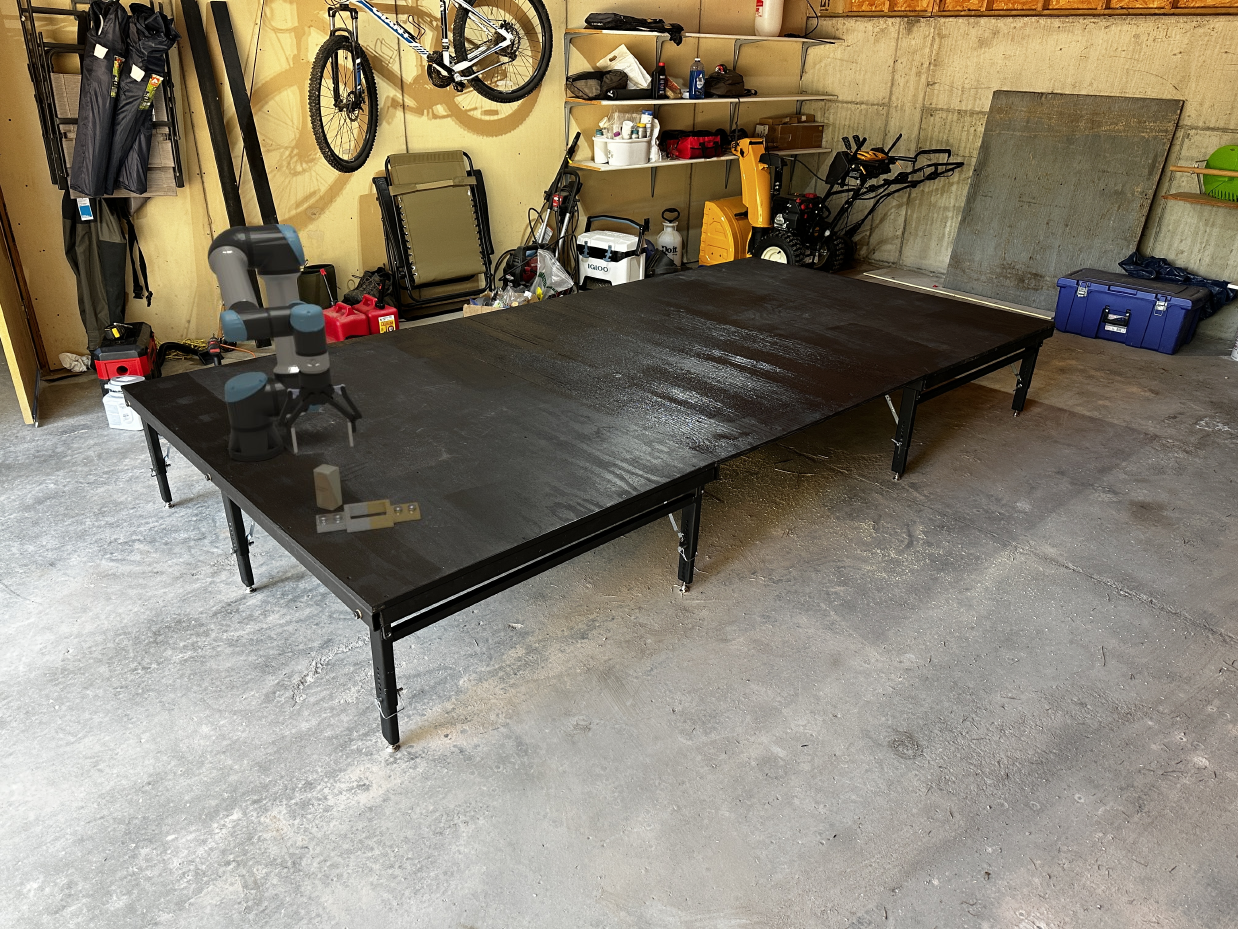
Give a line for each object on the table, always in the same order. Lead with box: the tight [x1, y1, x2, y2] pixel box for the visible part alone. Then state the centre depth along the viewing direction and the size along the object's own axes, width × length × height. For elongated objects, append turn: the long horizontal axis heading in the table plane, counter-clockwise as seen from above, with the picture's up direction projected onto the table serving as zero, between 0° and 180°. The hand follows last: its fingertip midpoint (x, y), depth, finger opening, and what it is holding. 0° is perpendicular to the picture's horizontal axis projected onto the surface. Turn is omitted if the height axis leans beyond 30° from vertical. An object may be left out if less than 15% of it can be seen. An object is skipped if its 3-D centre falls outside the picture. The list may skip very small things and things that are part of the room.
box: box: [313, 463, 343, 511], centre depth 219 cm, size 5×4×11 cm
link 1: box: [315, 501, 372, 534], centre depth 213 cm, size 13×9×3 cm
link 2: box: [366, 499, 422, 530], centre depth 217 cm, size 13×9×3 cm
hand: (324, 447), depth 215 cm, fingers open, 13 cm apart
